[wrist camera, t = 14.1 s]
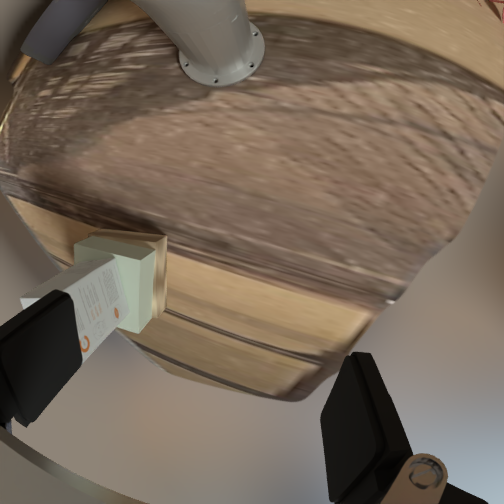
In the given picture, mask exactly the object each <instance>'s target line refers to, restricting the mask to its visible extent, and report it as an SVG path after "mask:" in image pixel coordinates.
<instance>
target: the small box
mask: <svg viewBox="0 0 504 504" xmlns="http://www.w3.org/2000/svg"><path fill="white" fill-rule="evenodd" d="M55 289H58V290H61V291H63V292H67V293H69V294H70V296H71V299H73V302H74V309H75V316H76V323H77V330H78V336H79V342H80V347H81V352H82V357H83V361H82V363H83V362H84V361H85V360H86V359H87V358H88V357H89V356H90V355H91V353H92V352H93V351H94V350H95V349H96V348H97V347H98V346H99V345H100V344H101V342H102V341H103V340H104V339H105V338H106V337H107V336H108V335H109V334H110V333H111V332H112V331H113V330H114V329H115V328H116V327H117V326H118V325H119V324H120V322H121V321H122V320H123V319H124V318H125V317H126V316H127V315H128V314H129V313H130V311H129V308H128V304H127V301H126V297H125V294H124V290H123V286H122V283H121V279H120V275H119V271H118V267H117V263H116V259H115V258H107V259H99V260H91V261H81V262H79V263H77V264H76V265H74V266H72V267H70V268H68V269H66V270H65V271H63V272H61V273H59V274H58V275H56V276H54V277H53V278H51V279H49V280H48V281H46V282H45V283H43V284H41V285H39V286H38V287H36V288H34V289H33V290H31V291H30V292H28V293H26V294H25V295H23V296H22V297H20V301H21V303H22V306H23V309H26V308H27V307H29V306H30V305H31V304H33V303H34V302H36V301H37V300H39V299H40V298H42V297H43V296H45V295H46V294H48V293H49V292H51V291H53V290H55Z"/></svg>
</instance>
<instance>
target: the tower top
mask: <svg viewBox="0 0 504 504" xmlns="http://www.w3.org/2000/svg"><path fill="white" fill-rule="evenodd" d="M155 252H156V250H154V249H149V248H144V247H140V246H135V245H131V244H127V243H122V242H118V241H113V240H109V239H104V238H100V237H96V236H91V237H89V238H87V239H84V240H82V241H79V242H77V243H75V244H74V265H76V264H77V263H79V262H81V261H91V260H99V259H107V258H115V259H116V263H117V267H118V271H119V275H120V279H121V283H122V286H123V290H124V294H125V297H126V301H127V304H128V308H129V311H130V313H129V314H128V315H127V316H126V317H125V318H124V319H123V320H122V321H121V322H120V324H119V325H118V326H117V327H119V328H122V329H125V330H128V331H131V332H134V333H138V334H139V333H140V332H141V330H142V329H143V328H144V327H145V325H146V324H147V323H148V322H149V320H150V319H151V318H152V298H153V279H154V265H155Z"/></svg>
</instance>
